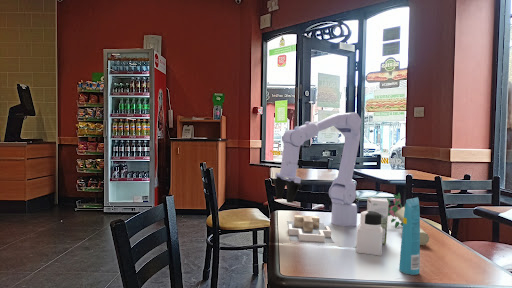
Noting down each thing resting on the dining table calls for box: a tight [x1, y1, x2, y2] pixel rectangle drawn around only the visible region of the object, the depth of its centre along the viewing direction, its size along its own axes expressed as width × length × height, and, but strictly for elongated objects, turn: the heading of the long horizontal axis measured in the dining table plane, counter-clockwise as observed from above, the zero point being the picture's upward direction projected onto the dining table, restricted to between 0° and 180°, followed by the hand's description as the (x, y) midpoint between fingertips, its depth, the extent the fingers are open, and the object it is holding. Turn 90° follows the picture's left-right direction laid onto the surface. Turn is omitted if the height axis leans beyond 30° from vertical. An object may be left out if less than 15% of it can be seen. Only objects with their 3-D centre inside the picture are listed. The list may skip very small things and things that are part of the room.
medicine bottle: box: [355, 210, 383, 257], centre depth 110 cm, size 7×7×12 cm
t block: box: [293, 214, 320, 232], centre depth 132 cm, size 9×9×4 cm
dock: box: [287, 224, 332, 243], centre depth 122 cm, size 14×13×2 cm
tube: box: [398, 196, 421, 276], centre depth 94 cm, size 7×5×19 cm, turn 140°
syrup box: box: [366, 196, 390, 245], centre depth 121 cm, size 6×6×14 cm
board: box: [286, 221, 335, 245], centre depth 128 cm, size 14×26×1 cm, turn 177°
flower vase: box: [386, 192, 430, 246], centre depth 136 cm, size 12×12×35 cm
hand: (284, 200), depth 129 cm, fingers open, 7 cm apart
